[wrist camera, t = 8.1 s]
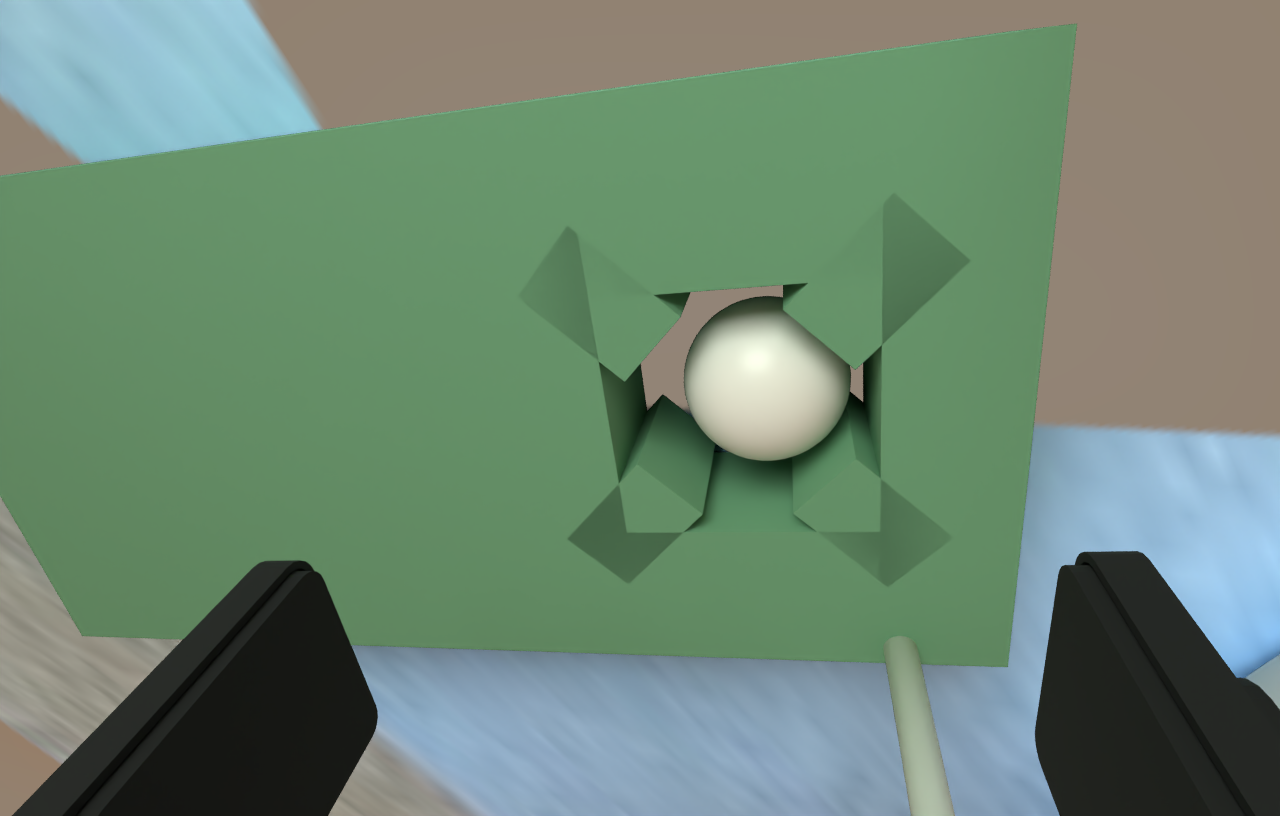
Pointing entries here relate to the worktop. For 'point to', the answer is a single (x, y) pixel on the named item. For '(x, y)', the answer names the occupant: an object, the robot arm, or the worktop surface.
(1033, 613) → the worktop surface
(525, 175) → the putting mat
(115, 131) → the worktop surface
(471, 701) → the worktop surface
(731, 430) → the ball
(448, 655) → the worktop surface
